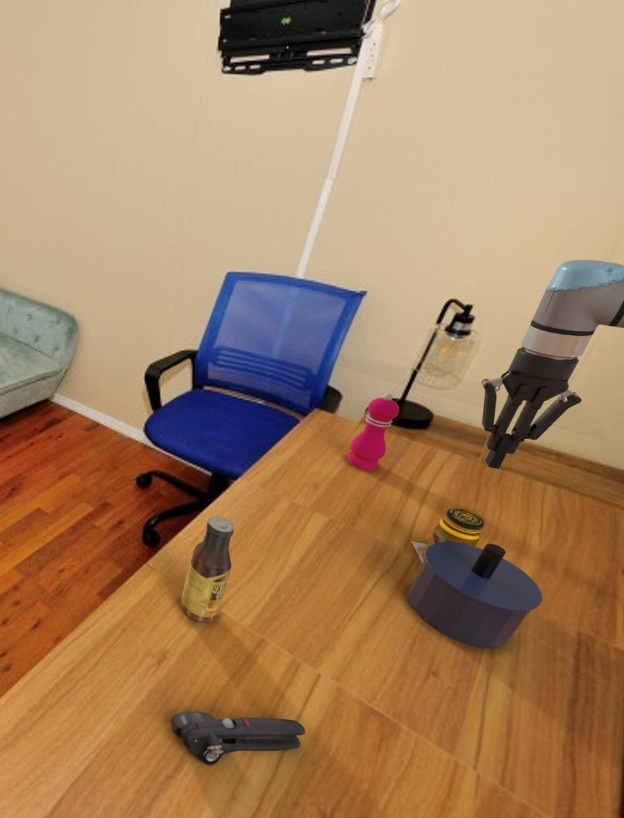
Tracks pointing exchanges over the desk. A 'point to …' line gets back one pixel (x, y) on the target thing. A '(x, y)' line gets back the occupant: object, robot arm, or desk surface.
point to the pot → (461, 613)
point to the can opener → (233, 734)
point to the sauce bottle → (208, 572)
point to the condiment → (454, 530)
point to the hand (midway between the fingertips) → (492, 464)
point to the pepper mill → (373, 433)
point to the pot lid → (483, 575)
